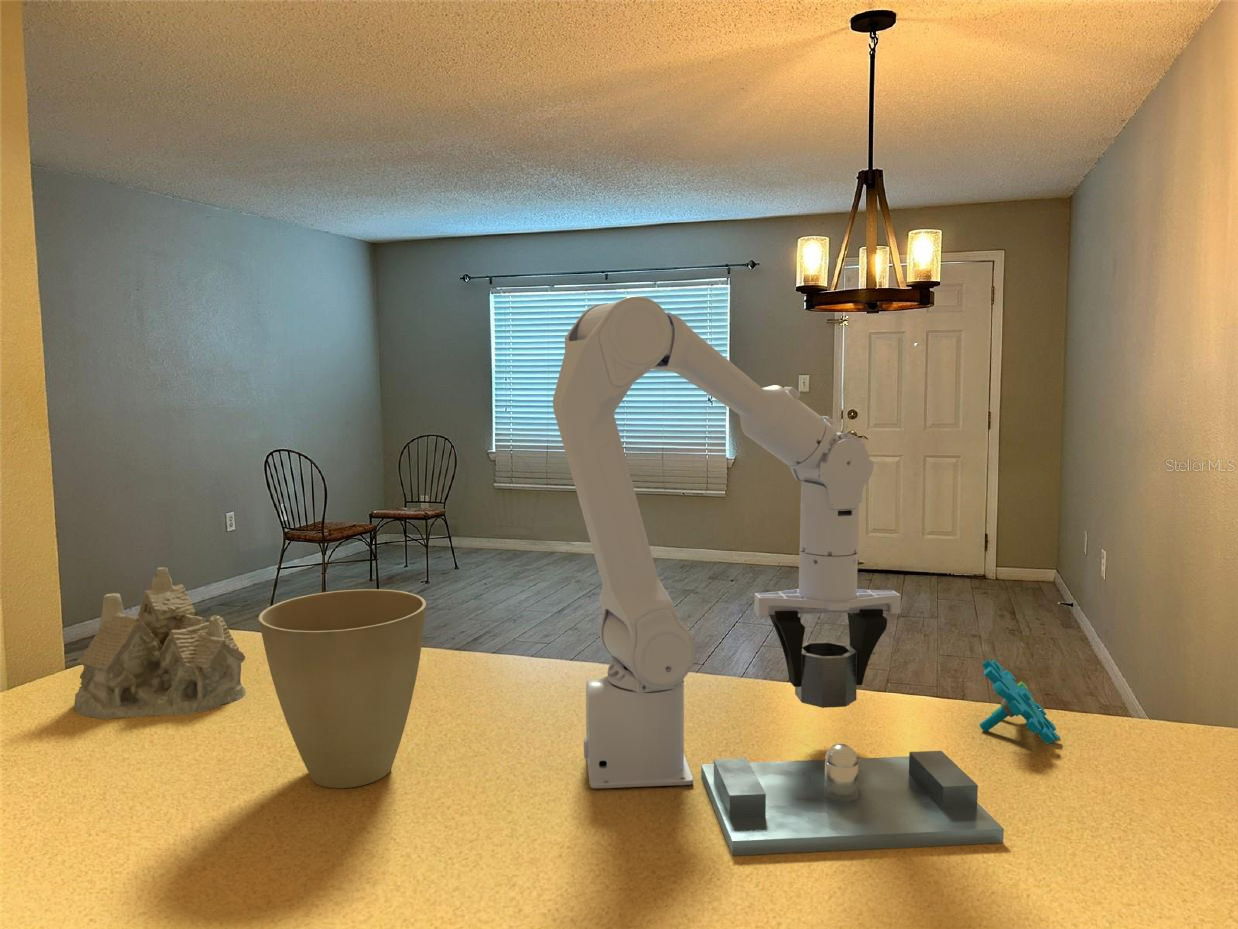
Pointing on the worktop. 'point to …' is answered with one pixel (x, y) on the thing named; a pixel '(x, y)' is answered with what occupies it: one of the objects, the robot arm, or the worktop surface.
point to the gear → (1016, 704)
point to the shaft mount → (846, 803)
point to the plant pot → (345, 677)
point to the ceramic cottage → (158, 658)
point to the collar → (828, 674)
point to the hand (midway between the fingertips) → (825, 683)
